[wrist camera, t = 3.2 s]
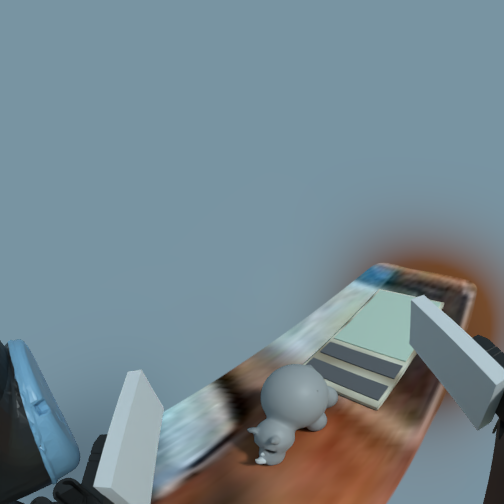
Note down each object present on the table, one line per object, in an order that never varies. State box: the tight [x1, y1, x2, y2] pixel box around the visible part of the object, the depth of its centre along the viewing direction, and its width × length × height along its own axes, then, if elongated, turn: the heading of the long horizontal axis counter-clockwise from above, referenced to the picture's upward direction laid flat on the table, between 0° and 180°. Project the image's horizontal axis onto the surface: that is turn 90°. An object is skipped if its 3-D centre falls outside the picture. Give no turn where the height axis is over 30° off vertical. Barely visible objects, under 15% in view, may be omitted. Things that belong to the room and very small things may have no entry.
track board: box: [303, 289, 444, 410], centre depth 43 cm, size 24×13×1 cm, turn 132°
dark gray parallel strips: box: [306, 342, 403, 401], centre depth 38 cm, size 6×12×1 cm, turn 42°
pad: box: [334, 290, 441, 362], centre depth 45 cm, size 15×12×1 cm
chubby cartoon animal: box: [247, 364, 338, 465], centre depth 30 cm, size 7×12×8 cm, turn 139°
